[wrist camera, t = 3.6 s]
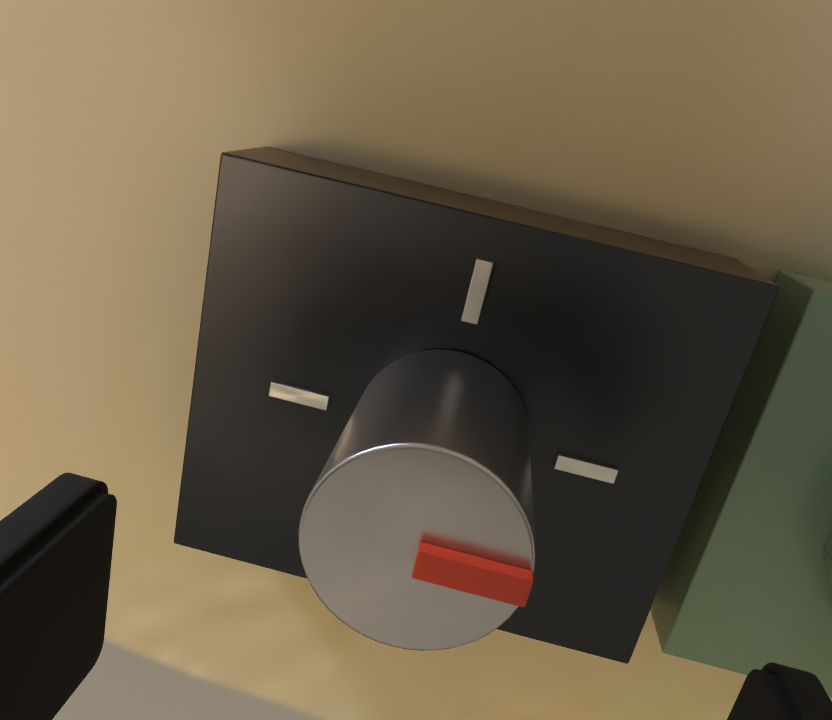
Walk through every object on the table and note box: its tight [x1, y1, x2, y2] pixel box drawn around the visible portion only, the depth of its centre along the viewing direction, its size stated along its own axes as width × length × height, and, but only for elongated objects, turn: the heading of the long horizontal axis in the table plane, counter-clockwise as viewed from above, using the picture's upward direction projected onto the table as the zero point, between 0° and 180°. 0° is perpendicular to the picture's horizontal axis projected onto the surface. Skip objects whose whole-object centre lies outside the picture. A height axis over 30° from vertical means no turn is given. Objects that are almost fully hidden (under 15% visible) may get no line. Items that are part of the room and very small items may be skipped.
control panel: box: [174, 147, 779, 664], centre depth 18 cm, size 12×10×3 cm
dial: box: [299, 349, 536, 650], centre depth 14 cm, size 4×4×5 cm
